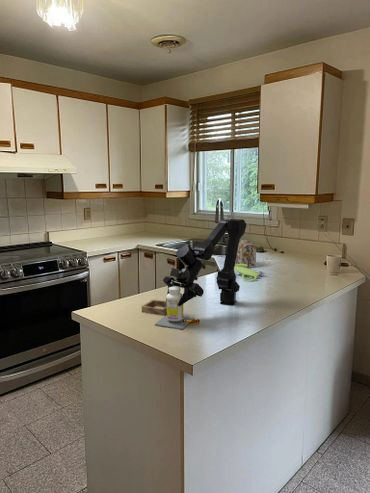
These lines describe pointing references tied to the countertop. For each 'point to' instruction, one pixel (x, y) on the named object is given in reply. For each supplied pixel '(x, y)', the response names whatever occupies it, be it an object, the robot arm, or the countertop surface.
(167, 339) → the countertop surface
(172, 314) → the supplement bottle
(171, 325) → the slate mat
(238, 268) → the figurine
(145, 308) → the walnut holder
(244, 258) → the decorative jar
